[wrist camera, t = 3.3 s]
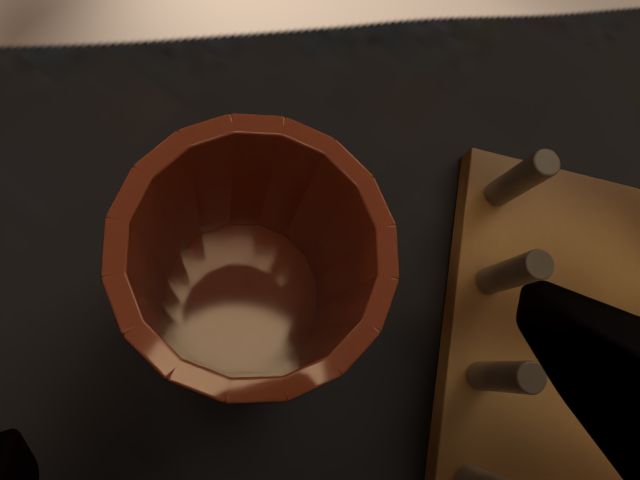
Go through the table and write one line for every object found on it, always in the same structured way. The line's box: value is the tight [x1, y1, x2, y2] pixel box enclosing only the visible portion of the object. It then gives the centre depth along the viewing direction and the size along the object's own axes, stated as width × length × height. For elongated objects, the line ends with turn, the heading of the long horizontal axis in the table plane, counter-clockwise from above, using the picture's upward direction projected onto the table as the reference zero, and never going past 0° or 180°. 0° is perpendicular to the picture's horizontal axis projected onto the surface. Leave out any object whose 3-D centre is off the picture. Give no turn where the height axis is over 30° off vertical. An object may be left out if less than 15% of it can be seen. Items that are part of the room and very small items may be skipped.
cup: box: [101, 113, 399, 404], centre depth 15 cm, size 6×6×8 cm
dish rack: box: [425, 148, 640, 480], centre depth 19 cm, size 14×12×4 cm
